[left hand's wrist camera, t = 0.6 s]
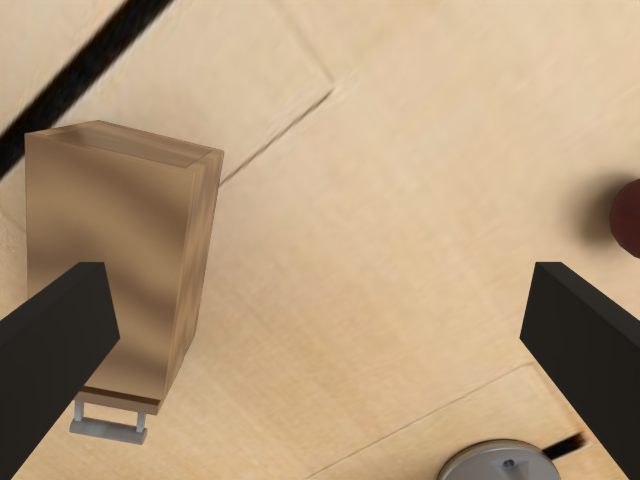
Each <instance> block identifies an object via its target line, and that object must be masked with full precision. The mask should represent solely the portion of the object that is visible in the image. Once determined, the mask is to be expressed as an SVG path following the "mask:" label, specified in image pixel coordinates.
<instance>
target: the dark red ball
mask: <svg viewBox="0 0 640 480" xmlns="http://www.w3.org/2000/svg"><path fill="white" fill-rule="evenodd" d="M610 228H611V233H612V234H613V236H614V237H615V239H616V240H617V242H618V243H619V245H620V246H621V247H622V248H624V249H625V250H626V251H627V252H629V253H630V254H631V255H633V256H634V257H636V258H639V259H640V179H638V180H635V181H633V182H630V183H629V184H628V185H627V186H626V187H624V188H623V189H622V190H621V191H620V193H619V194H618V196H617V197H616V199H615V200H614V203H613V206H612V210H611V213H610Z"/></svg>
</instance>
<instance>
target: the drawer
mask: <svg viewBox="0 0 640 480" xmlns="http://www.w3.org/2000/svg"><path fill="white" fill-rule="evenodd" d="M183 361H184V358H183ZM183 361H182V363H183ZM182 363H181V365H182ZM181 365H180V367H181ZM180 367H179V369H180ZM179 369H178V371H179ZM178 371H177V373H178ZM177 373H176V375H177ZM176 375H175V377H176ZM175 377H174V379H175ZM174 379H173V381H174ZM173 381H172V383H171V385H170V387H169V389H168V391H167V393H166V395H165V397H164V399H163V400H158V399H153V398H148V397H142V396H137V395H132V394H126V393H121V392H116V391H110V390H105V389H100V388H94V387H89V386H83V387H82V389H81V390H80V391H79V392H78V394H77V395H76V396H75V398H74V399H73V400H75V418H74V419H73V421H72V423H71V425H70V432H71V433H77V434H83V435H88V436H94V437H100V438H105V439H111V440H116V441H122V442H128V443H133V444H139V445H142V444H143V442H144V440H145V438H146V435H147V428H144V426H145V417H146V414H151V415H157V414H158V412H159V410H160V408H161V406H162V404H163V402H164V400H165V398H166V396H167V394H168V392H169V390H170V388H171V386H172V384H173ZM84 402H86V403H91V404H97V405H102V406H108V407H113V408H119V409H124V410H129V411H135V412H138V419H137V426H132V425H126V424H121V423H115V422H110V421H104V420H99V419H93V418H88V417H83V415H84Z"/></svg>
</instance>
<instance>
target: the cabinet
mask: <svg viewBox="0 0 640 480" xmlns="http://www.w3.org/2000/svg"><path fill="white" fill-rule="evenodd" d="M223 156H224V151H222V150H218V149H214V148H210V147H206V146H201V145H197V144H193V143H189V142H185V141H181V140H177V139H173V138H169V137H165V136H161V135H157V134H153V133H149V132H144V131H140V130H136V129H132V128H128V127H124V126H120V125H116V124H112V123H108V122H104V121H100V120H98V121H92V122H86V123H81V124H75V125H70V126H64V127H59V128H53V129H48V130H42V131H37V132H32V133H26V134H25V171H26V220H27V269H28V300H29V299H30V298H31V297H33V296H34V295H35V294H37V293H38V292H40V291H41V290H42V289H44V288H45V287H46V286H48V285H49V284H50V283H52V282H53V281H54V280H56V279H57V278H58V277H60V276H61V275H62V274H64V273H65V272H66V271H68V270H69V269H70V268H72V267H73V266H74V265H76V264H77V263H78V262H104V263H105V268H106V273H107V277H108V282H109V287H110V291H111V296H112V301H113V305H114V310H115V315H116V319H117V324H118V329H119V333H120V340H119V341H118V342H117V343H116V345H115V346H114V347H113V349H112V350H111V351H110V352H109V354H108V355H107V356H106V358H105V359H104V360H103V361H102V363H101V364H100V365H99V367H98V368H97V369H96V371H95V372H94V373H93V374H92V376H91V377H90V378H89V380H88V381H87V382H86V383H85V385H84V386H89V387H94V388H100V389H105V390H110V391H116V392H121V393H126V394H132V395H137V396H142V397H148V398H153V399H158V400H163V399H164V397H165V395H166V393H167V391H168V389H169V387H170V385H171V383H172V381H173V379H174V377H175V375H176V373H177V371H178V369H179V367H180V365H181V363H182V361H183V358H184V356H185V354H186V352H187V350H188V348H189V346H190V344H191V342H192V340H193V338H194V336H195V331H196V325H197V319H198V313H199V306H200V300H201V294H202V288H203V281H204V275H205V269H206V262H207V256H208V250H209V244H210V237H211V231H212V225H213V218H214V212H215V206H216V200H217V193H218V187H219V181H220V174H221V168H222V162H223Z"/></svg>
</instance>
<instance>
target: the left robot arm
mask: <svg viewBox="0 0 640 480" xmlns="http://www.w3.org/2000/svg"><path fill="white" fill-rule="evenodd" d="M119 340H120V333H119V329H118V324H117V319H116V315H115V310H114V305H113V301H112V296H111V291H110V287H109V282H108V277H107V273H106V268H105V263H104V262H78V263H77V264H76V265H74V266H73V267H72V268H70V269H69V270H68V271H66V272H65V273H64V274H62V275H61V276H60V277H58V278H57V279H56V280H54V281H53V282H52V283H50V284H49V285H48V286H46V287H45V288H44V289H42V290H41V291H40V292H38V293H37V294H35V295H34V296H33V297H31V298H30V299H29V300H27V301H26V302H25V303H23V304H22V305H21V306H19V307H18V308H17V309H15V310H14V311H13V312H11V313H10V314H9V315H7V316H6V317H5V318H3V319H2V320H1V321H0V480H11V479H12V477H13V476H14V475H15V473H16V472H17V471H18V470H19V468H20V467H21V466H22V464H23V463H24V462H25V461H26V459H27V458H28V457H29V455H30V454H31V453H32V452H33V450H34V449H35V448H36V446H37V445H38V444H39V443H40V441H41V440H42V439H43V437H44V436H45V435H46V434H47V432H48V431H49V430H50V428H51V427H52V426H53V425H54V423H55V422H56V421H57V419H58V418H59V417H60V416H61V414H62V413H63V412H64V410H65V409H66V408H67V407H68V405H69V404H70V403H71V401H72V400H73V399H74V398H75V396H76V395H77V394H78V392H79V391H80V390H81V389H82V387H83V386H84V385H85V383H86V382H87V381H88V380H89V378H90V377H91V376H92V374H93V373H94V372H95V371H96V369H97V368H98V367H99V365H100V364H101V363H102V361H103V360H104V359H105V358H106V356H107V355H108V354H109V352H110V351H111V350H112V349H113V347H114V346H115V345H116V343H117V342H118V341H119ZM520 340H521V341H522V342H523V343H524V345H525V346H526V347H527V349H528V350H529V351H530V352H531V354H532V355H533V356H534V358H535V359H536V360H537V361H538V363H539V364H540V365H541V367H542V368H543V369H544V371H545V372H546V373H547V374H548V376H549V377H550V378H551V380H552V381H553V382H554V383H555V385H556V386H557V387H558V389H559V390H560V391H561V392H562V394H563V395H564V396H565V398H566V399H567V400H568V401H569V403H570V404H571V405H572V407H573V408H574V409H575V410H576V412H577V413H578V414H579V416H580V417H581V418H582V419H583V421H584V422H585V423H586V425H587V426H588V427H589V428H590V430H591V431H592V432H593V434H594V435H595V436H596V437H597V439H598V440H599V441H600V443H601V444H602V445H603V446H604V448H605V449H606V450H607V452H608V453H609V454H610V455H611V457H612V458H613V459H614V461H615V462H616V463H617V464H618V466H619V467H620V468H621V470H622V471H623V472H624V473H625V475H626V476H627V477H628V479H629V480H640V321H639V320H638V319H637V318H635V317H634V316H633V315H631V314H630V313H629V312H627V311H626V310H625V309H623V308H622V307H621V306H619V305H618V304H617V303H615V302H614V301H613V300H611V299H610V298H609V297H607V296H606V295H605V294H603V293H602V292H600V291H599V290H598V289H596V288H595V287H594V286H592V285H591V284H590V283H588V282H587V281H586V280H584V279H583V278H582V277H580V276H579V275H578V274H576V273H575V272H574V271H572V270H571V269H570V268H568V267H567V266H566V265H564V264H563V263H562V262H536V263H535V268H534V273H533V277H532V282H531V287H530V291H529V296H528V301H527V305H526V310H525V315H524V319H523V324H522V329H521V333H520Z"/></svg>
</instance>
